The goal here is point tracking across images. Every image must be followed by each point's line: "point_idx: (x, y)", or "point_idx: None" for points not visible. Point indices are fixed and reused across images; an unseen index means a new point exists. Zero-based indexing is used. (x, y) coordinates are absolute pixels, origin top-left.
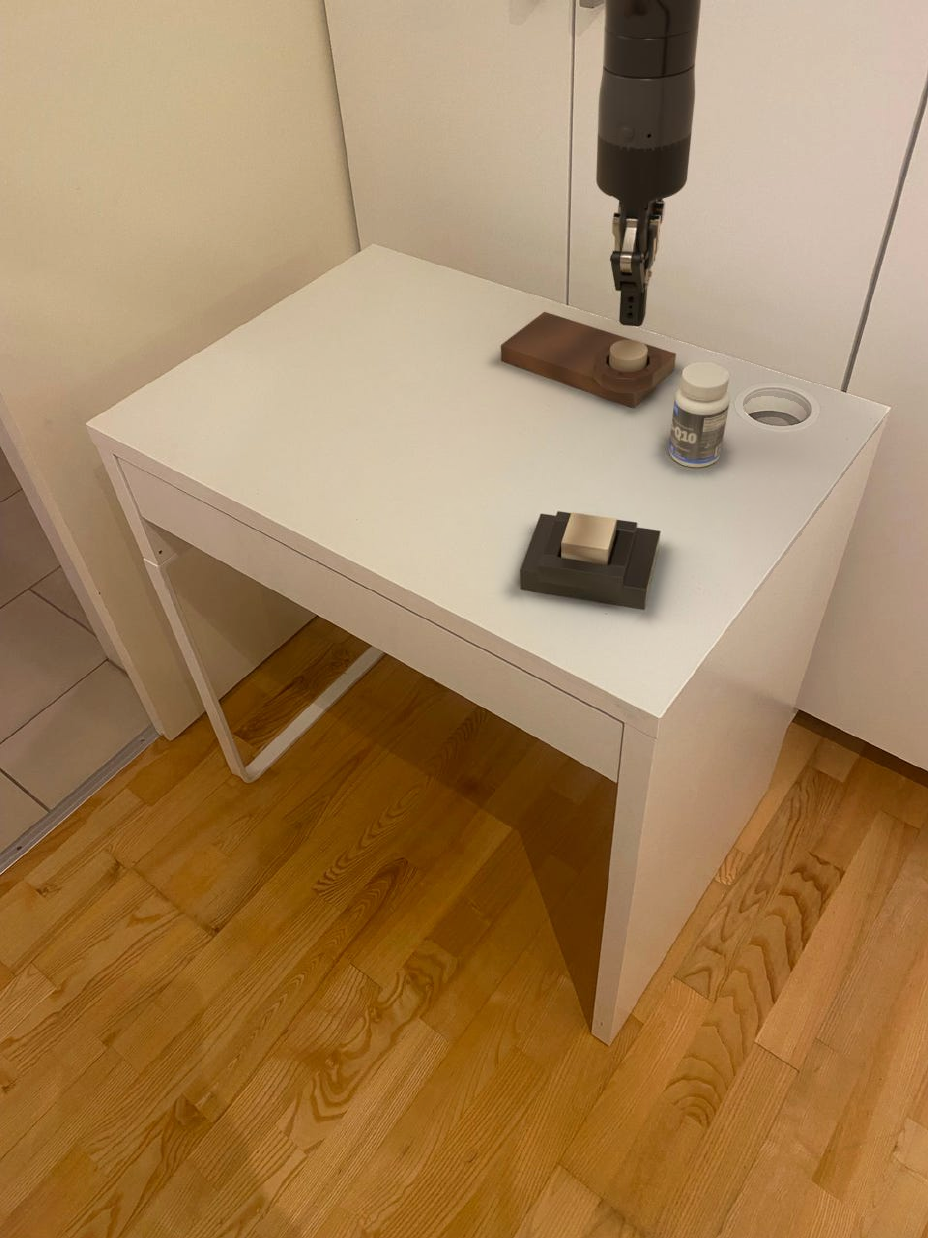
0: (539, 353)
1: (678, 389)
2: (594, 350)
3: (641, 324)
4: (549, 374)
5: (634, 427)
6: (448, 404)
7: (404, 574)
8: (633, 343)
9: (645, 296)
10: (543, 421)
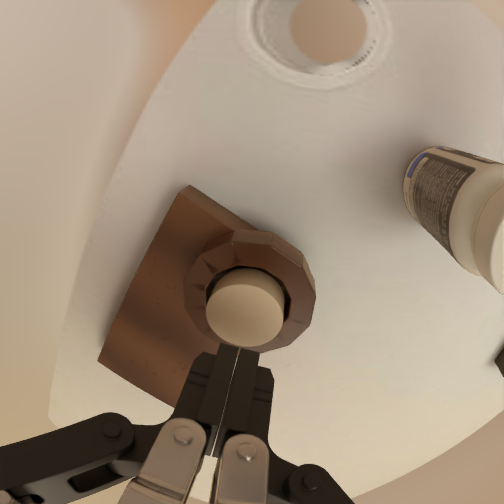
0: None
1: (478, 273)
2: (179, 324)
3: (258, 352)
4: None
5: (359, 267)
6: (274, 434)
7: (480, 425)
8: (220, 306)
9: (232, 401)
10: (322, 371)
